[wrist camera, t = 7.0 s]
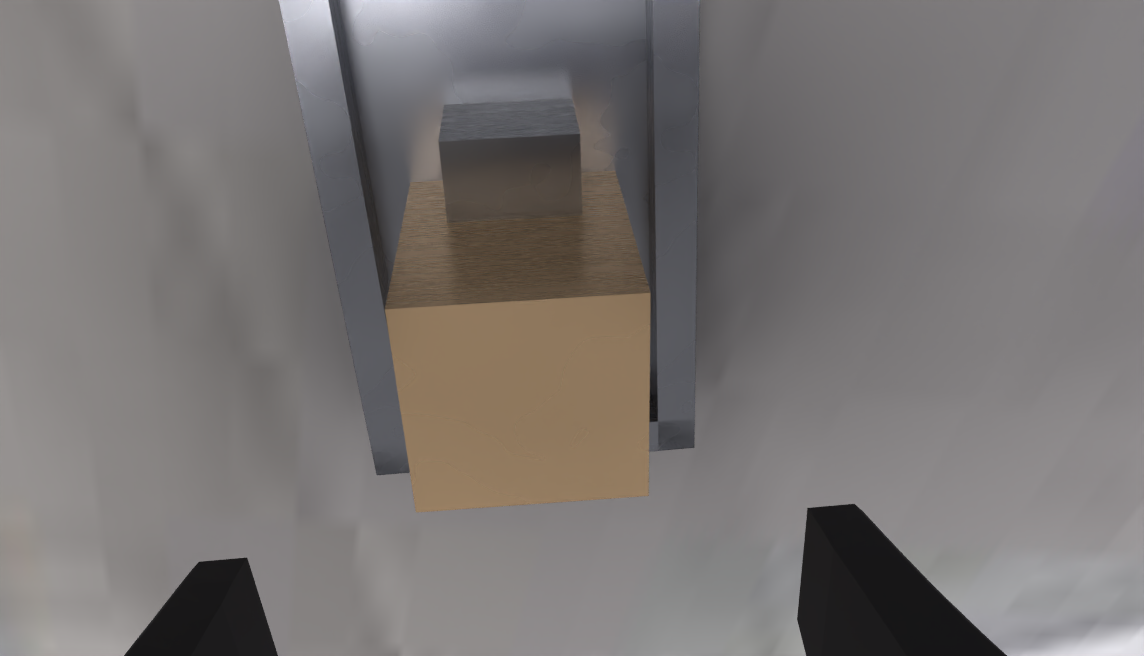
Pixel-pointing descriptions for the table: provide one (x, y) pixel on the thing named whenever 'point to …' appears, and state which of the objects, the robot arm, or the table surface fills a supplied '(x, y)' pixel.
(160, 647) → the robot arm
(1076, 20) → the table surface
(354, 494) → the table surface
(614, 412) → the wooden block with cap
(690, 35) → the tray
